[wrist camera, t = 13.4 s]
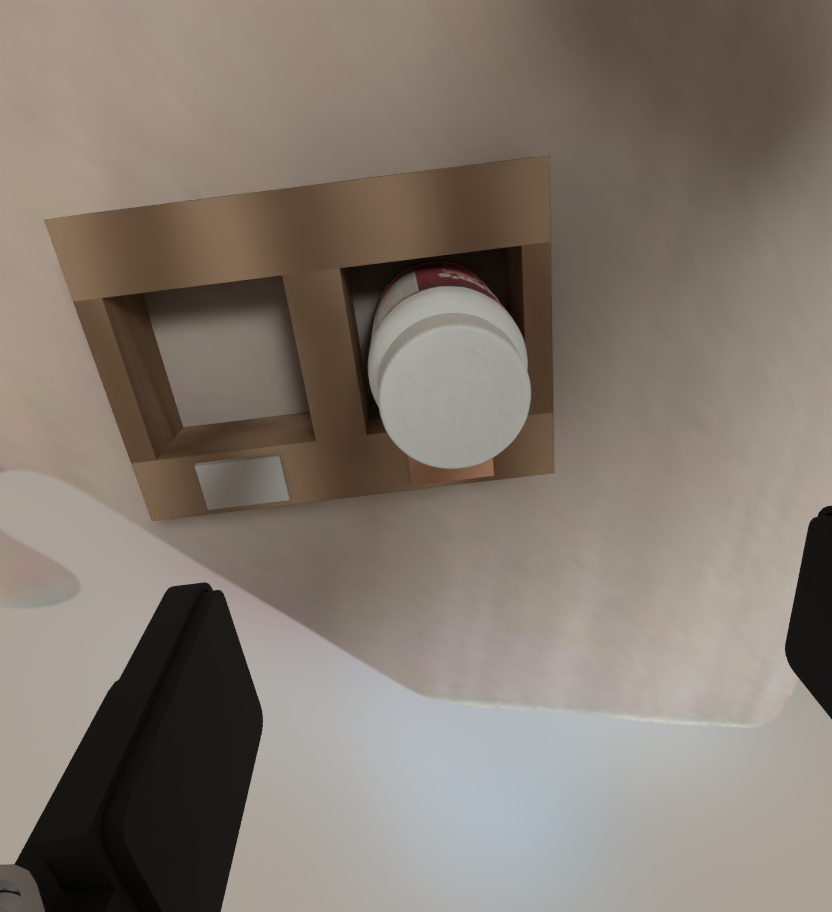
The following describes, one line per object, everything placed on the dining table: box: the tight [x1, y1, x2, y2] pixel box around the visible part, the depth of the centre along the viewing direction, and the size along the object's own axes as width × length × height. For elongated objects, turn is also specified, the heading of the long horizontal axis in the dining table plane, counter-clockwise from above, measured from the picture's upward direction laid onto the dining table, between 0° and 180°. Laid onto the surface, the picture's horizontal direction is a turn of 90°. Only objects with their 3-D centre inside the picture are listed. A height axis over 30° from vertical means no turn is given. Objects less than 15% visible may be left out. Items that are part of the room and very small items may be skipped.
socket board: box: [44, 156, 554, 521], centre depth 28 cm, size 20×14×4 cm
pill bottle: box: [368, 261, 531, 469], centre depth 25 cm, size 6×6×11 cm
